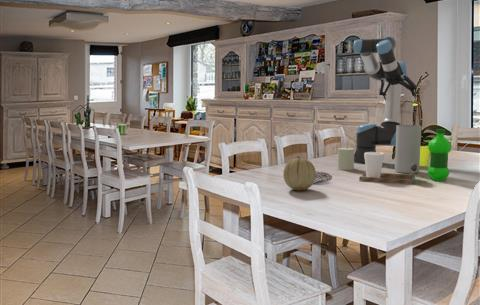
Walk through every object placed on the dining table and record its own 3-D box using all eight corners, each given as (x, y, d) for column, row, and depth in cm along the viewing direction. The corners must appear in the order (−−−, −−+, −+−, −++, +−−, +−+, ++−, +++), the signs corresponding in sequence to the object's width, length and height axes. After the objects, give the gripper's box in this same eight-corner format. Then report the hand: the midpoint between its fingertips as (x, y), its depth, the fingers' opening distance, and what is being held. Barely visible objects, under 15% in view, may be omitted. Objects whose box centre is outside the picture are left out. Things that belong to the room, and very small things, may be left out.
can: (355, 168, 258) (355, 147, 256) (352, 170, 250) (352, 149, 248) (339, 166, 262) (339, 146, 260) (335, 169, 254) (336, 148, 252)
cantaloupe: (293, 195, 194) (293, 160, 192) (277, 188, 208) (277, 156, 205) (322, 191, 200) (323, 158, 198) (304, 185, 213) (305, 153, 211)
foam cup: (361, 177, 231) (361, 152, 230) (378, 176, 232) (379, 151, 230) (367, 181, 222) (368, 154, 220) (386, 180, 223) (387, 154, 221)
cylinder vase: (407, 174, 237) (409, 127, 234) (389, 170, 248) (391, 125, 245) (424, 172, 243) (426, 126, 239) (405, 168, 254) (407, 124, 250)
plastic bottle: (422, 177, 229) (425, 128, 225) (443, 177, 229) (446, 128, 226) (432, 181, 219) (435, 130, 215) (453, 181, 219) (456, 130, 216)
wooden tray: (359, 180, 223) (359, 163, 221) (362, 175, 236) (363, 158, 235) (416, 184, 213) (417, 166, 212) (416, 178, 226) (417, 161, 225)
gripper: (366, 76, 248) (377, 109, 256) (412, 67, 232) (423, 102, 240) (370, 70, 253) (381, 103, 261) (416, 60, 237) (426, 96, 245)
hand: (401, 103), depth 251 cm, fingers open, 13 cm apart
